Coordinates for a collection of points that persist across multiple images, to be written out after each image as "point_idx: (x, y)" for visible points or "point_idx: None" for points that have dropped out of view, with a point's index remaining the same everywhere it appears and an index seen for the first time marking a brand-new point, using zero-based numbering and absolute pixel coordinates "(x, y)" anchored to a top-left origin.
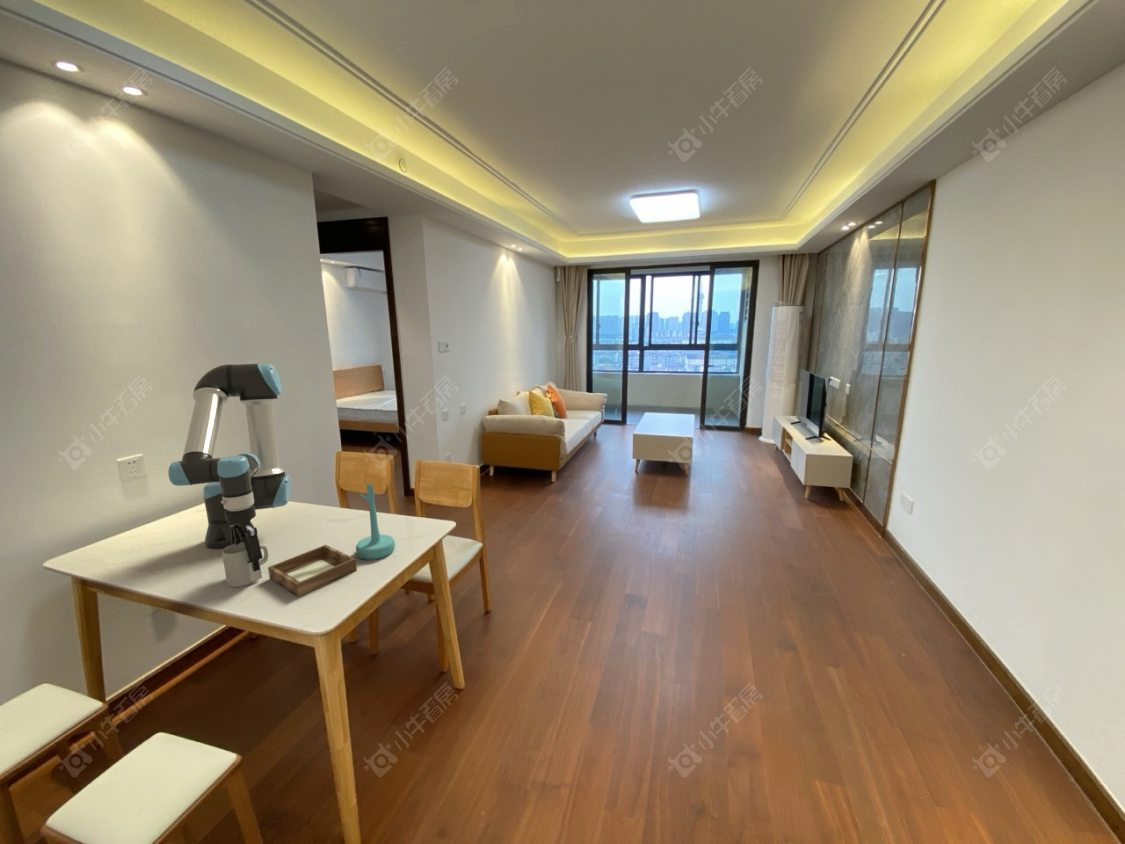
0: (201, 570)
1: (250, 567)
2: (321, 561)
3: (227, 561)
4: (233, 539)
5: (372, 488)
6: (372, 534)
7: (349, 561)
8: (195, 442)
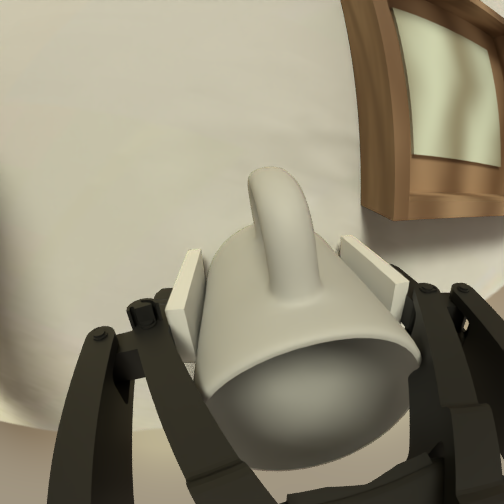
0: (65, 347)
1: None
2: (408, 19)
3: (329, 421)
4: (127, 436)
5: None
6: None
7: None
8: None
